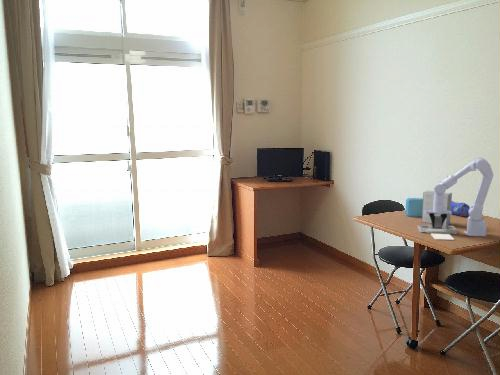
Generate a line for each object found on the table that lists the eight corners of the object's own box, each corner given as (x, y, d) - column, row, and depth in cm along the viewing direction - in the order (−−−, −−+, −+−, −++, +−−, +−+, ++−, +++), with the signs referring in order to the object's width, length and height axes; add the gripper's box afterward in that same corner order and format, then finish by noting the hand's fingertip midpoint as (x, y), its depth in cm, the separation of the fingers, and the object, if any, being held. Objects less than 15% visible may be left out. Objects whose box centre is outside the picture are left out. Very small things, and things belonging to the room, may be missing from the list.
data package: (422, 214, 283) (423, 197, 281) (425, 216, 279) (426, 199, 276) (405, 215, 283) (406, 198, 281) (407, 216, 279) (408, 199, 276)
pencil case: (434, 210, 293) (435, 197, 291) (443, 209, 296) (444, 196, 295) (461, 218, 273) (462, 204, 271) (470, 216, 277) (471, 202, 275)
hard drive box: (450, 223, 260) (452, 192, 257) (446, 226, 255) (448, 194, 251) (425, 219, 271) (427, 189, 267) (421, 222, 265) (422, 191, 262)
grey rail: (452, 229, 247) (453, 225, 247) (456, 233, 239) (457, 229, 239) (417, 228, 251) (417, 224, 250) (420, 232, 243) (420, 228, 243)
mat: (449, 235, 237) (449, 234, 237) (454, 240, 228) (454, 239, 228) (430, 234, 239) (430, 233, 239) (435, 239, 230) (435, 238, 229)
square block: (439, 230, 247) (440, 215, 245) (441, 232, 243) (442, 217, 241) (432, 230, 247) (433, 215, 246) (434, 232, 244) (435, 217, 242)
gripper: (449, 202, 245) (448, 224, 247) (424, 201, 247) (422, 223, 250) (453, 205, 238) (451, 227, 240) (426, 204, 240) (425, 227, 243)
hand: (437, 226), depth 245 cm, fingers closed on square block, 4 cm apart
